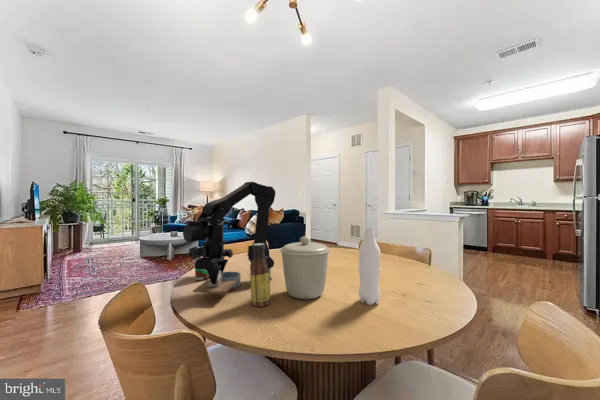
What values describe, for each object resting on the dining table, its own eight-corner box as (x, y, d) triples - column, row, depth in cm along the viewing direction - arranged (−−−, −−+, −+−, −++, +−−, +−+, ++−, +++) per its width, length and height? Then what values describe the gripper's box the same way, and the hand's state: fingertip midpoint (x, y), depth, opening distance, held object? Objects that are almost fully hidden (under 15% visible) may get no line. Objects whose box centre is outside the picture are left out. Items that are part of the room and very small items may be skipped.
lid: (236, 282, 100) (235, 267, 100) (224, 293, 89) (224, 276, 89) (207, 281, 101) (207, 266, 101) (192, 292, 90) (192, 275, 90)
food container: (209, 282, 111) (208, 258, 111) (194, 282, 112) (193, 258, 111) (218, 274, 124) (218, 252, 124) (205, 273, 124) (205, 252, 124)
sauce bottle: (273, 301, 92) (273, 242, 91) (265, 309, 86) (264, 246, 85) (256, 299, 94) (255, 241, 93) (246, 306, 88) (246, 245, 87)
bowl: (243, 282, 111) (243, 271, 111) (235, 290, 102) (235, 278, 102) (221, 281, 112) (221, 271, 112) (212, 289, 103) (212, 277, 103)
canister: (328, 306, 88) (328, 241, 87) (274, 302, 91) (274, 239, 90) (331, 287, 106) (331, 233, 105) (286, 284, 109) (285, 232, 108)
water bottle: (368, 308, 86) (368, 229, 85) (354, 300, 92) (354, 227, 92) (385, 303, 89) (385, 228, 89) (370, 296, 96) (370, 225, 95)
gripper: (205, 234, 105) (205, 274, 105) (178, 242, 87) (179, 291, 87) (232, 234, 104) (233, 274, 104) (212, 243, 85) (212, 292, 86)
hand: (215, 282), depth 95 cm, fingers closed on lid, 3 cm apart
